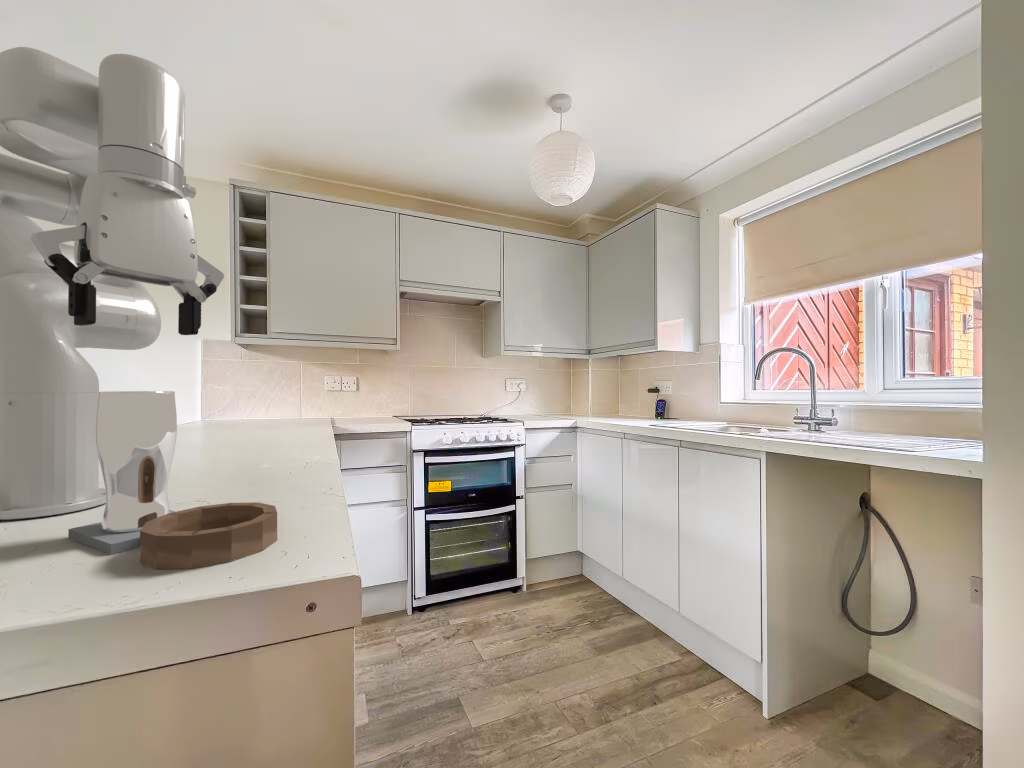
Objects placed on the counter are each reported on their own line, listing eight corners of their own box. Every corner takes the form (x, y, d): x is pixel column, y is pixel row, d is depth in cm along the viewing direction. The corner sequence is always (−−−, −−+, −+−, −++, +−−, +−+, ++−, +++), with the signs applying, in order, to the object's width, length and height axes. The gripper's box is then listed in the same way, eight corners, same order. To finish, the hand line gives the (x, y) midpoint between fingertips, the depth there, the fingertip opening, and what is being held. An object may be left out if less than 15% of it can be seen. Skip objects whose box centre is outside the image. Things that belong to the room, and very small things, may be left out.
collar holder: (118, 554, 43) (119, 524, 43) (236, 522, 53) (236, 498, 53) (181, 578, 38) (181, 543, 38) (299, 538, 48) (299, 510, 48)
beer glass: (130, 537, 45) (131, 392, 46) (77, 532, 47) (78, 391, 47) (191, 517, 52) (192, 391, 52) (143, 514, 54) (144, 391, 54)
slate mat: (68, 538, 48) (68, 529, 48) (164, 516, 56) (164, 508, 56) (111, 554, 43) (111, 544, 43) (209, 528, 51) (209, 519, 51)
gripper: (206, 211, 59) (204, 338, 59) (19, 150, 44) (17, 321, 44) (239, 202, 56) (237, 336, 56) (50, 132, 41) (47, 317, 41)
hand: (140, 330), depth 50 cm, fingers open, 9 cm apart
